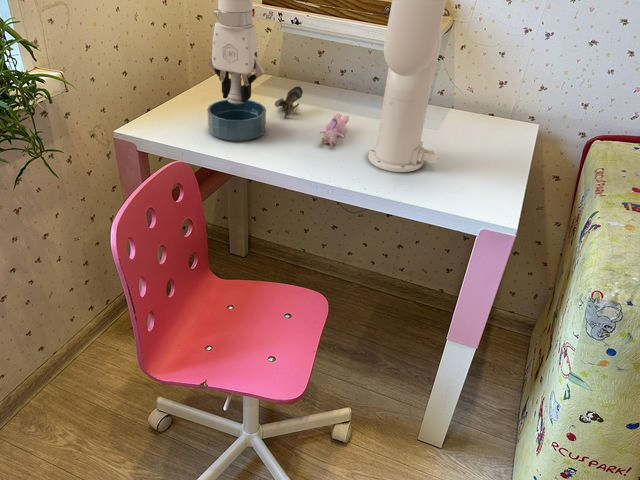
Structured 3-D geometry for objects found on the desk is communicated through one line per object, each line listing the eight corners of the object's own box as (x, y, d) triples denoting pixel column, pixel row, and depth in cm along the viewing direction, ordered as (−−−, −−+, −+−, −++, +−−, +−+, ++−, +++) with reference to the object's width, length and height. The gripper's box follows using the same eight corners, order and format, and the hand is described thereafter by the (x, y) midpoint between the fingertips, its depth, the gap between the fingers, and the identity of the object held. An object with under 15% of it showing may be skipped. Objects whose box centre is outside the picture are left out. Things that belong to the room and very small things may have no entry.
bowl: (274, 126, 143) (275, 105, 139) (250, 147, 132) (250, 125, 129) (225, 115, 147) (224, 95, 144) (198, 135, 137) (196, 114, 133)
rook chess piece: (249, 101, 135) (249, 68, 130) (236, 106, 133) (235, 72, 128) (236, 96, 138) (236, 63, 133) (223, 101, 135) (222, 67, 130)
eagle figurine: (307, 115, 146) (308, 97, 152) (293, 94, 142) (295, 76, 148) (282, 127, 149) (285, 109, 155) (267, 107, 145) (271, 89, 151)
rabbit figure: (338, 155, 133) (355, 123, 143) (339, 133, 129) (356, 102, 139) (313, 150, 135) (331, 119, 145) (313, 128, 131) (332, 98, 140)
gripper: (193, 16, 123) (198, 97, 134) (262, 26, 118) (261, 110, 129) (210, 9, 129) (213, 88, 140) (277, 19, 124) (274, 99, 135)
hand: (236, 97), depth 135 cm, fingers closed on rook chess piece, 4 cm apart
